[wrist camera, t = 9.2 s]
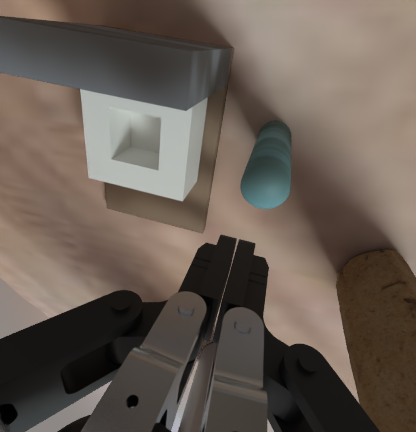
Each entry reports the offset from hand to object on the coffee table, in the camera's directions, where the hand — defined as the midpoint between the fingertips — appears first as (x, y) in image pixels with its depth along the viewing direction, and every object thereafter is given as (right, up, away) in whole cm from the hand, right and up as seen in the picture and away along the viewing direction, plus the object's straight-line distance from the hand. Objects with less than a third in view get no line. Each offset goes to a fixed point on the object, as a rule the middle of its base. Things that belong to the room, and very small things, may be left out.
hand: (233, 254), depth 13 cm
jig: (-6, +10, +19) cm, 23 cm away
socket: (-6, +11, +17) cm, 21 cm away
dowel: (+6, +9, +16) cm, 20 cm away
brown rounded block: (+19, -6, +22) cm, 29 cm away
